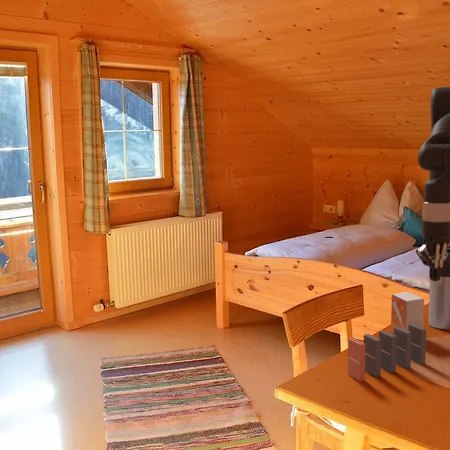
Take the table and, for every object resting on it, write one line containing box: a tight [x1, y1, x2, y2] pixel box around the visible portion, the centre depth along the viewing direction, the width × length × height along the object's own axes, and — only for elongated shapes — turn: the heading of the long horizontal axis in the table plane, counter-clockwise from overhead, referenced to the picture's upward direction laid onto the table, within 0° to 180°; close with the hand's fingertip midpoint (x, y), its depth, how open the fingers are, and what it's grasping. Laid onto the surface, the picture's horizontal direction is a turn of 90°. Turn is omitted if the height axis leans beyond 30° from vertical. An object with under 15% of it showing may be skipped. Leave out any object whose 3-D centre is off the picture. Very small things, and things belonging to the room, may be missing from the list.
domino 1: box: [347, 337, 366, 382], centre depth 150 cm, size 2×5×10 cm, turn 25°
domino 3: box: [378, 330, 397, 373], centre depth 155 cm, size 2×5×10 cm, turn 25°
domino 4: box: [393, 327, 412, 370], centre depth 157 cm, size 2×5×10 cm, turn 25°
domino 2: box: [363, 333, 382, 378], centre depth 152 cm, size 2×5×10 cm, turn 25°
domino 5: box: [408, 324, 427, 365], centre depth 159 cm, size 2×5×10 cm, turn 25°
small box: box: [390, 291, 425, 335], centre depth 177 cm, size 8×6×13 cm
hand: (434, 280), depth 159 cm, fingers closed
